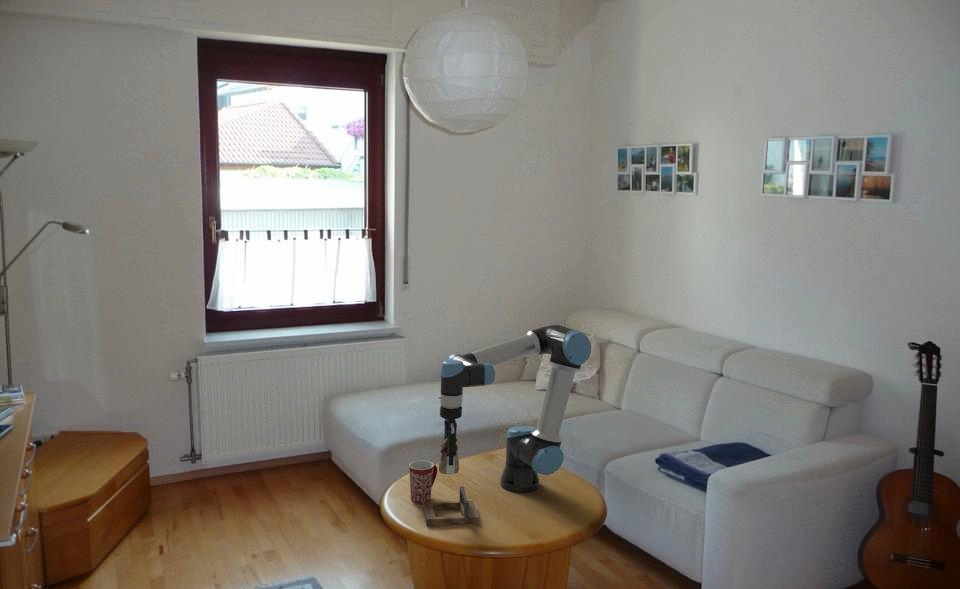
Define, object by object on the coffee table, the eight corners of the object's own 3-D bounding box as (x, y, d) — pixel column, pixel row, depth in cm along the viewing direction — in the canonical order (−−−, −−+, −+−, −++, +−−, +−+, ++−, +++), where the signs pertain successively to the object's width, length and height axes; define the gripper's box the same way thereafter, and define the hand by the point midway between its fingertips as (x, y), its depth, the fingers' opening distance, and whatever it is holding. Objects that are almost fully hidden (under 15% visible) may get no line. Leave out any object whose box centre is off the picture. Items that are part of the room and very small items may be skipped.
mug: (420, 507, 286) (421, 471, 284) (403, 499, 292) (403, 464, 289) (444, 497, 295) (445, 462, 293) (427, 490, 301) (428, 455, 299)
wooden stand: (473, 507, 287) (473, 486, 286) (478, 524, 274) (479, 502, 272) (423, 508, 284) (423, 487, 283) (426, 526, 271) (427, 503, 270)
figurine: (445, 465, 281) (446, 432, 279) (462, 469, 277) (464, 436, 276) (434, 471, 275) (435, 438, 273) (452, 476, 271) (453, 442, 269)
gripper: (437, 397, 282) (435, 459, 285) (443, 414, 262) (441, 480, 266) (458, 397, 283) (456, 458, 286) (465, 414, 263) (463, 480, 267)
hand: (449, 469), depth 276 cm, fingers closed on figurine, 7 cm apart
